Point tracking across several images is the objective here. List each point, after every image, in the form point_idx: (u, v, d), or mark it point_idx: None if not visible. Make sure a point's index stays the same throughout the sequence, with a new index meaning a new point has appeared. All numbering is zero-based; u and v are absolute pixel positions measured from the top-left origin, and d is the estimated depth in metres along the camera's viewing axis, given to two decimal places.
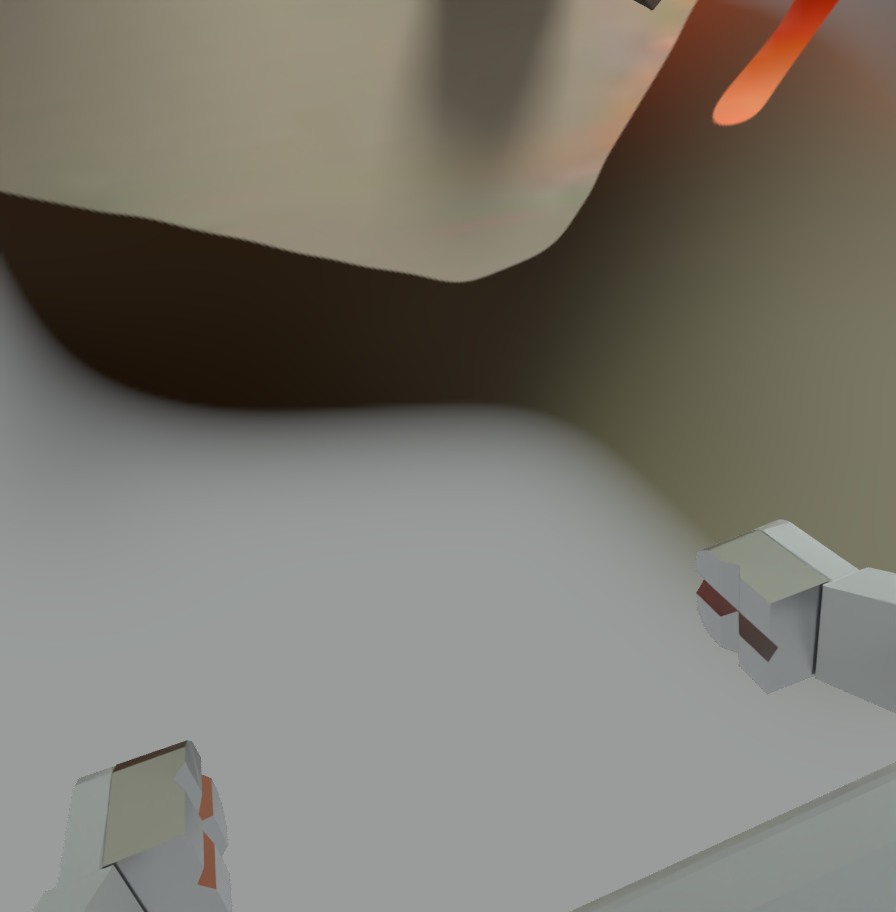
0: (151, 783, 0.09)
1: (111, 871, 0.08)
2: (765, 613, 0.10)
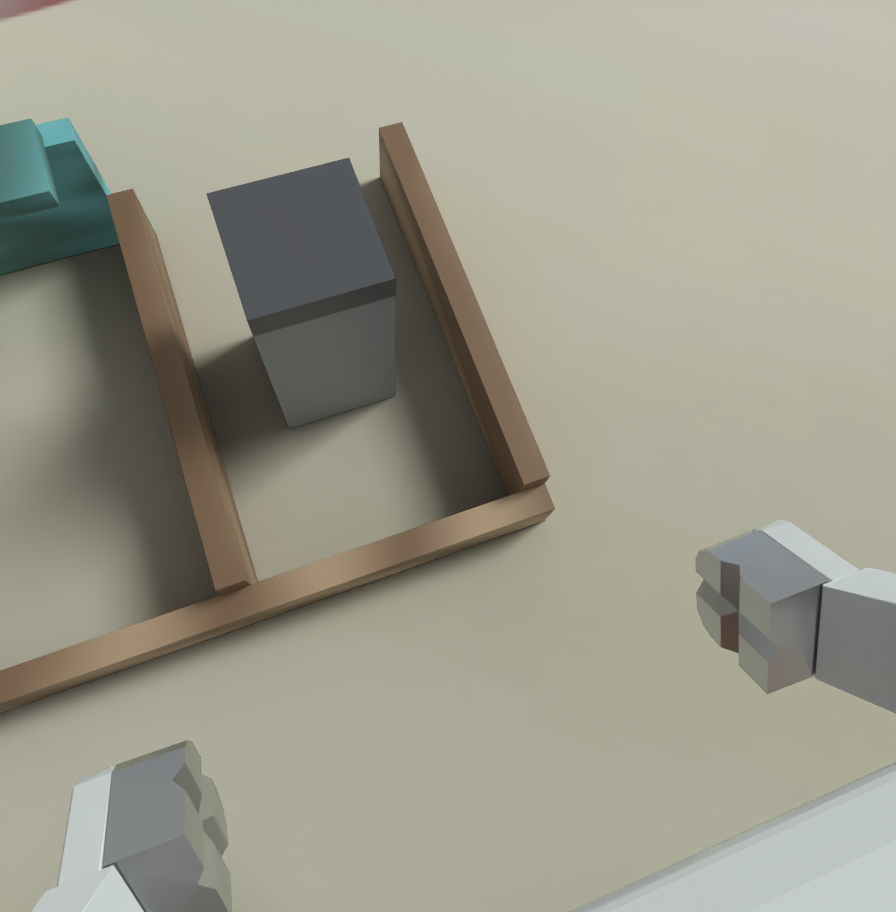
0: (151, 783, 0.09)
1: (111, 871, 0.08)
2: (765, 613, 0.10)
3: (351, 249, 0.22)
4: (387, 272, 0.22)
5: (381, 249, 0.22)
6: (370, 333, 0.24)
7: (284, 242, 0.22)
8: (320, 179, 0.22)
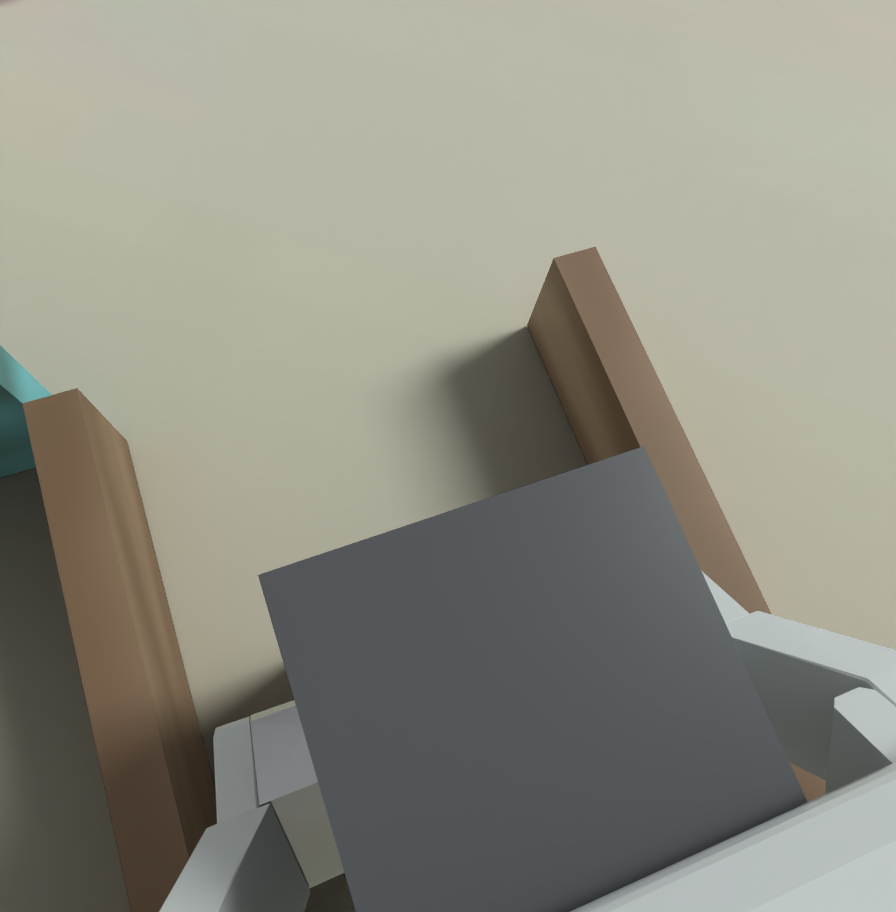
0: (291, 730, 0.10)
1: (268, 809, 0.09)
2: None
3: (691, 755, 0.07)
4: None
5: (774, 749, 0.07)
6: None
7: (494, 741, 0.07)
8: (576, 517, 0.08)
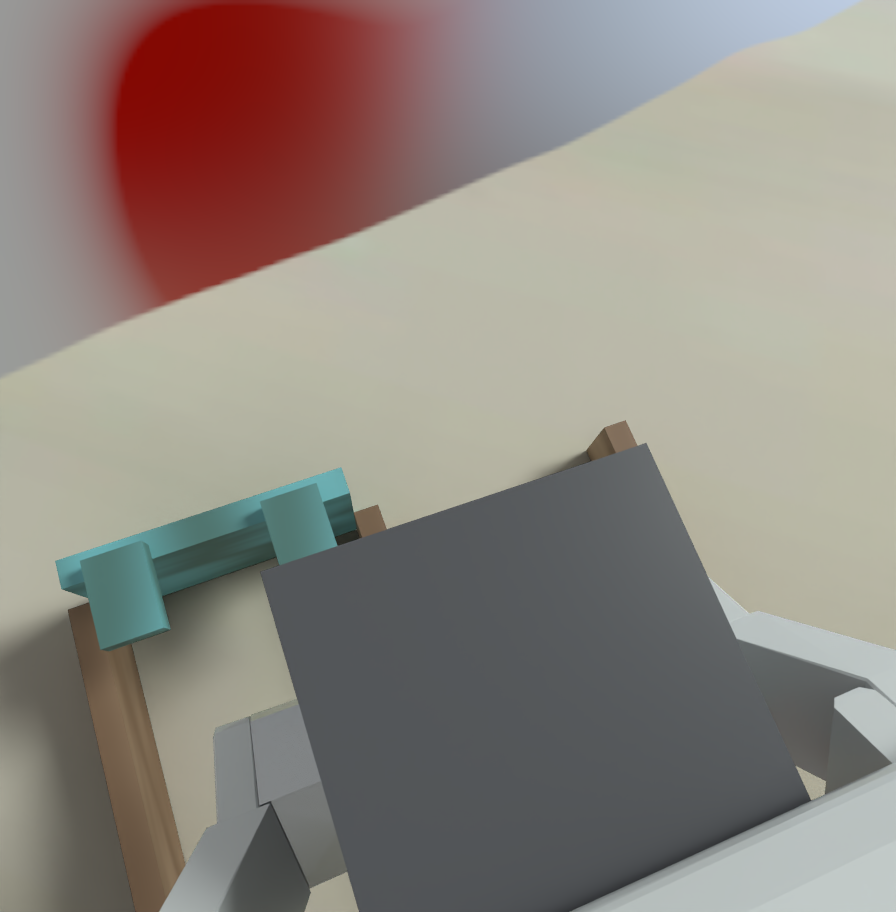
0: (291, 730, 0.10)
1: (268, 809, 0.09)
2: None
3: (693, 751, 0.07)
4: None
5: (776, 745, 0.07)
6: None
7: (496, 737, 0.07)
8: (578, 513, 0.08)
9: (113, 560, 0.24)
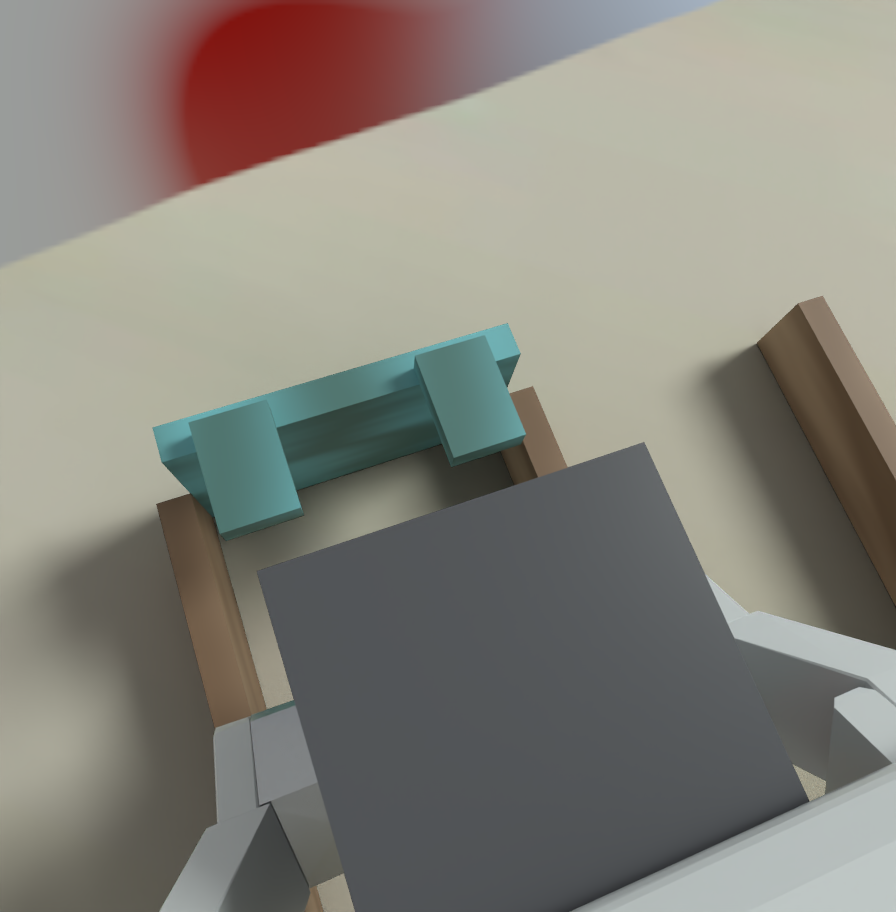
0: (291, 730, 0.10)
1: (268, 809, 0.09)
2: None
3: (691, 751, 0.07)
4: None
5: (774, 746, 0.07)
6: None
7: (493, 737, 0.07)
8: (576, 513, 0.08)
9: (232, 423, 0.19)
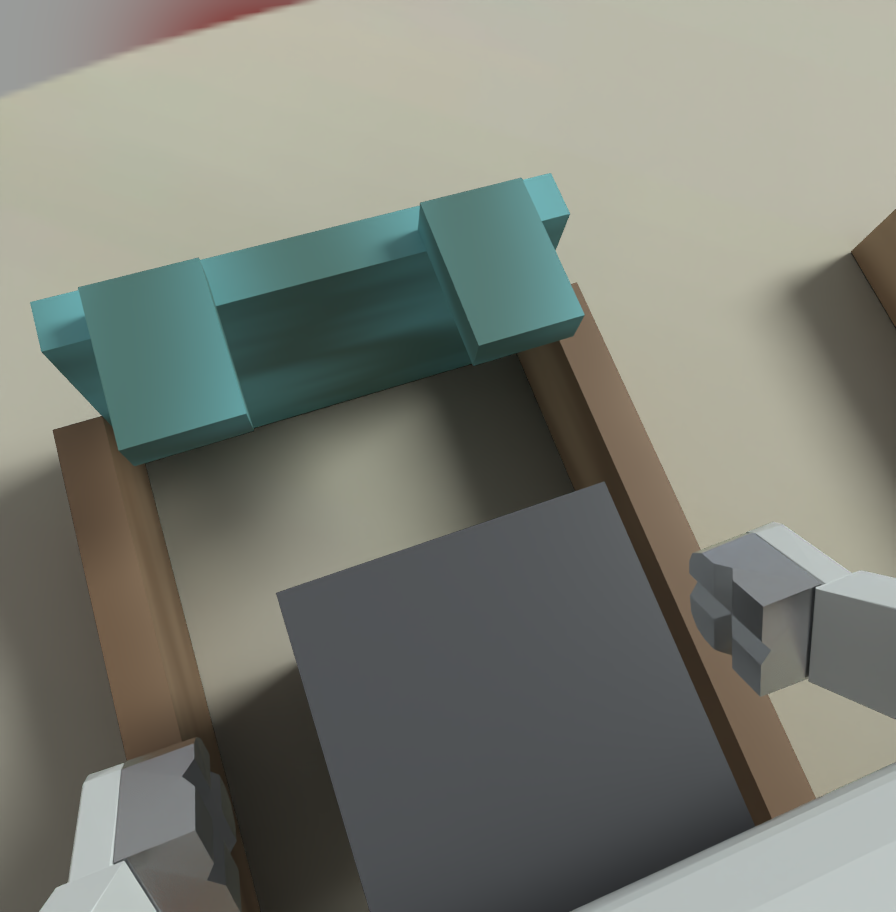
0: (161, 779, 0.09)
1: (122, 867, 0.08)
2: (758, 616, 0.10)
3: (639, 744, 0.09)
4: (732, 808, 0.09)
5: (709, 739, 0.09)
6: None
7: (473, 732, 0.09)
8: (545, 542, 0.09)
9: (145, 289, 0.12)
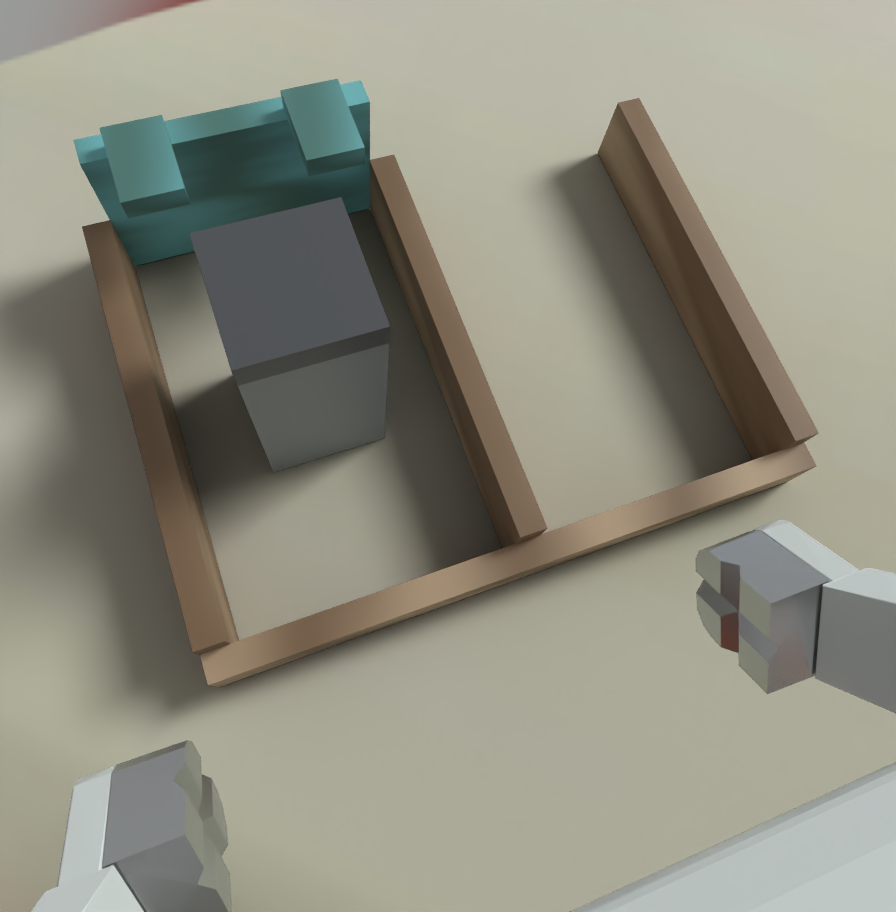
0: (151, 783, 0.09)
1: (111, 871, 0.08)
2: (765, 613, 0.10)
3: (343, 294, 0.21)
4: (381, 319, 0.20)
5: (375, 295, 0.21)
6: (361, 379, 0.23)
7: (271, 287, 0.20)
8: (310, 219, 0.21)
9: (133, 129, 0.24)
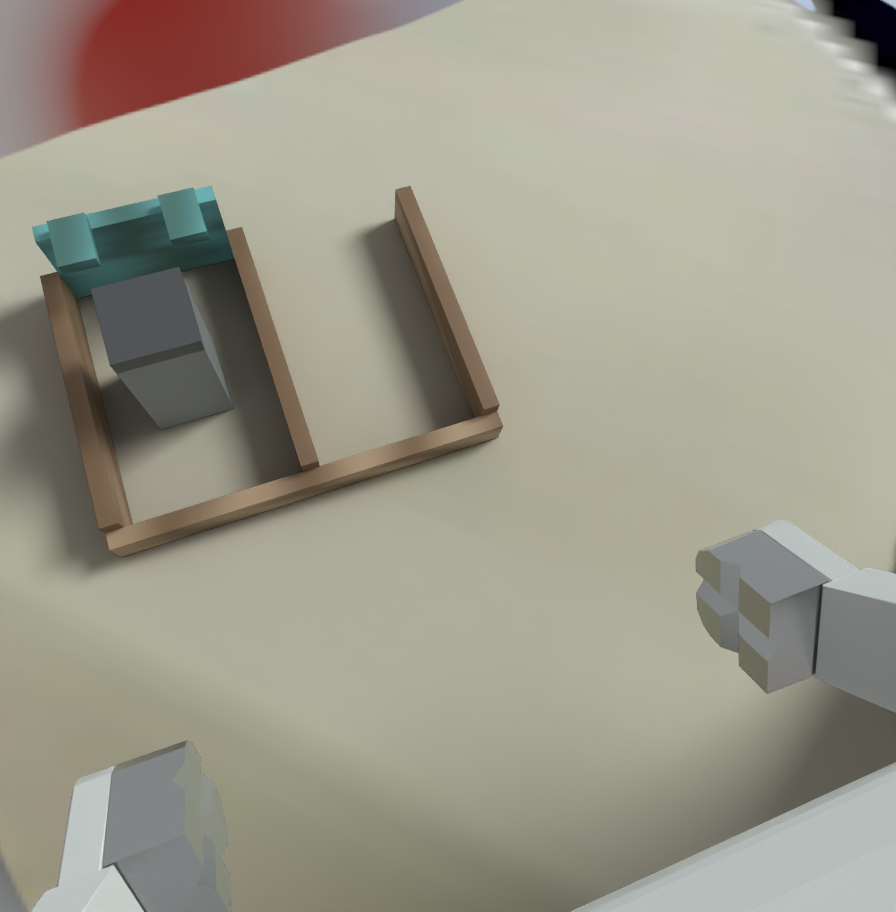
0: (151, 783, 0.09)
1: (111, 871, 0.08)
2: (765, 613, 0.10)
3: (175, 323, 0.37)
4: (196, 337, 0.37)
5: (193, 323, 0.37)
6: (196, 370, 0.39)
7: (135, 318, 0.37)
8: (160, 280, 0.38)
9: (66, 222, 0.41)
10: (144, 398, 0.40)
